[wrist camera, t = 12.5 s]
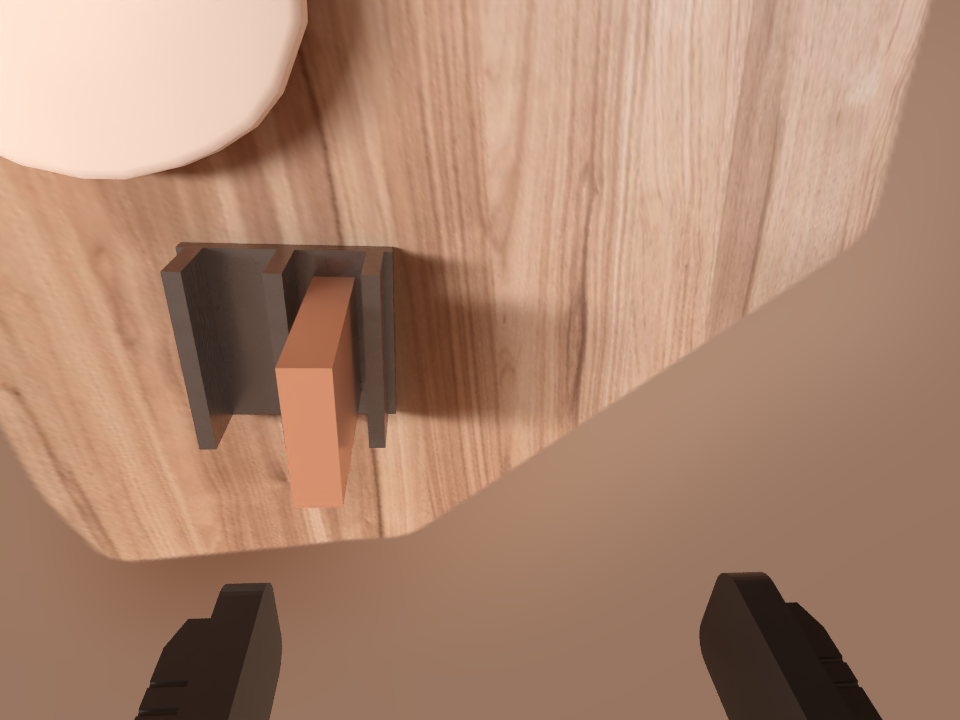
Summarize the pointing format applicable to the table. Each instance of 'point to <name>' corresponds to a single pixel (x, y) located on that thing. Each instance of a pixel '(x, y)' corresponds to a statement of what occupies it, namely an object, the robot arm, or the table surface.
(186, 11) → the plate
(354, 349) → the tall salmon slab
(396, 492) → the table surface
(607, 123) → the table surface
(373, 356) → the dish rack
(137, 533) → the table surface
